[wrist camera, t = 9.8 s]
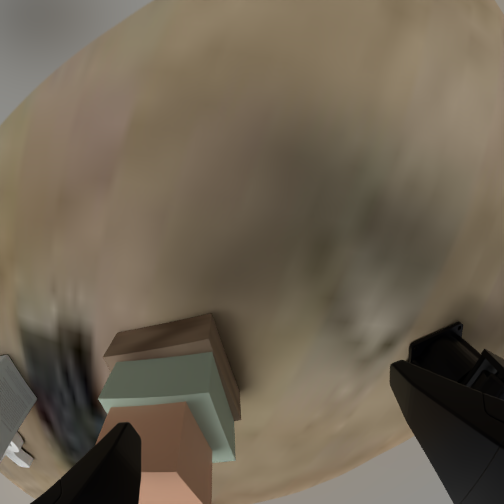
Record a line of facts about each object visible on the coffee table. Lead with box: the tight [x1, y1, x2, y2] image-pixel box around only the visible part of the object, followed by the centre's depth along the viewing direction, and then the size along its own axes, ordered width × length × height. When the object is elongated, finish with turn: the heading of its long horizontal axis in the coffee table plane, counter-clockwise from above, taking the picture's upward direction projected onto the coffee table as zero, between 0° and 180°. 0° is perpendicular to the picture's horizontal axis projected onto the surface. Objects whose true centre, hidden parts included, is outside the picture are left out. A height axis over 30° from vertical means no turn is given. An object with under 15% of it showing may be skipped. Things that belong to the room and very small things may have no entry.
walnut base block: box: [103, 313, 241, 421], centre depth 21 cm, size 8×8×4 cm
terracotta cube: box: [96, 401, 212, 504], centre depth 13 cm, size 5×5×5 cm
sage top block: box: [98, 352, 236, 463], centre depth 18 cm, size 7×7×4 cm
